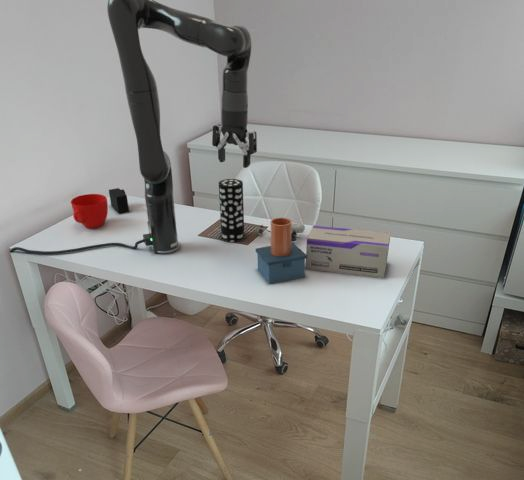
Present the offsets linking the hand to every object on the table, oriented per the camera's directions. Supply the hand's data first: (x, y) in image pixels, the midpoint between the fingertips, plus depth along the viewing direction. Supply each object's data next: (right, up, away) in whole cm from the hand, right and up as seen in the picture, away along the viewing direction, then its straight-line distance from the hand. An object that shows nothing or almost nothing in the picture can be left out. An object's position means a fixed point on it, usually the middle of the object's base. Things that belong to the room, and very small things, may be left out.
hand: (234, 164), depth 163 cm
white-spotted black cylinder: (-2, -15, +33) cm, 37 cm away
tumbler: (+14, -26, +5) cm, 30 cm away
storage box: (+14, -32, +9) cm, 36 cm away
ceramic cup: (-57, -9, +42) cm, 71 cm away
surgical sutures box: (+36, -29, +13) cm, 48 cm away
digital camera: (-49, +2, +58) cm, 76 cm away
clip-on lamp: (+14, -16, +32) cm, 39 cm away
